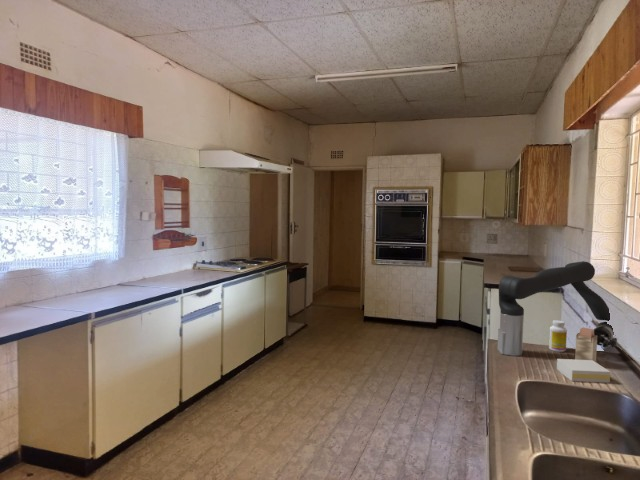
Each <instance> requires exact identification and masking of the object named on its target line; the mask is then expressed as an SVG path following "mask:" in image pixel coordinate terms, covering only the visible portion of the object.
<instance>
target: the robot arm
mask: <svg viewBox="0 0 640 480" xmlns="http://www.w3.org/2000/svg"><path fill="white" fill-rule="evenodd" d="M595 275H596V269H595V266H594V265H593V264H592V263H590V262H588V261H576V262H570V263H567V264H565V266H563V267H562V266H561V267H551V268H546V269H542V270H540V271H538V272H537V273H535V275H534V276H531V277H526V278H525V277H517V276H512V275H504V276H503V277H502V278H501V279H500V280H499V284H498V305H499V309H500V314H499V316H500V317H499V328H498V330H497V351H498V352H499V353H500V354H501V355H505V356H512V357H514V356H515V357H516V356H517V357H519V356H521V355H523V347H524V346H523V344H524V341H523V340H524V339H523V338H524V319H525V318H524V316H525V309H524V307H523V306H522V305H520V303H518V302H517V300H523V299H524V300H525V299H527V298H528V297H531V296H533V295H536V294H539V293H544V292H548V291H551V290H555V289H559V288H562V287H566V286H568V285H571V286H572V287H573V289H575V290H576V292H577V293H578V295H580V296H581V298H582V299H583V300H584V302H585V303H586V304H587V306H588V307H589V309H590V311H591V313H592V314H593V316H594V318H595V320H598V321H602V322H599V323H598V324H597V326H596V327H595V328H593V329H594V335H595V336H596V335H597V346H601V347H602V348H609V347H610V346H611V347H613V348H615V347H617V345H618V338H617V337H613V335H614V332H613V328H612V326H611V325H609V324H607V322H606V321H609V320H610V313H609V309H610V308H609V306H608V305H607V302H606V301H605V299H603V298H602V297H601V296H600V295H599V294H598V293H597V292H595V291H593V290H592V288H590V287H589V286H588V285H587V284H586V282H588V281H591V280H593V278H594V276H595ZM579 333H580V332H578V333H577V334H579Z"/></svg>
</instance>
